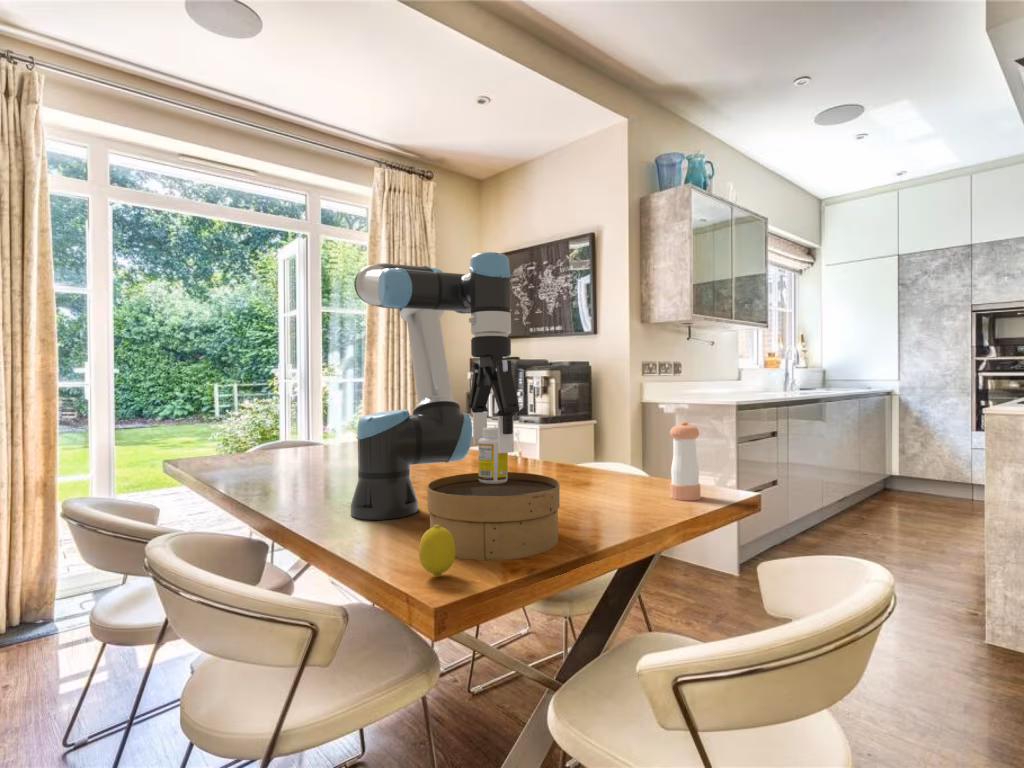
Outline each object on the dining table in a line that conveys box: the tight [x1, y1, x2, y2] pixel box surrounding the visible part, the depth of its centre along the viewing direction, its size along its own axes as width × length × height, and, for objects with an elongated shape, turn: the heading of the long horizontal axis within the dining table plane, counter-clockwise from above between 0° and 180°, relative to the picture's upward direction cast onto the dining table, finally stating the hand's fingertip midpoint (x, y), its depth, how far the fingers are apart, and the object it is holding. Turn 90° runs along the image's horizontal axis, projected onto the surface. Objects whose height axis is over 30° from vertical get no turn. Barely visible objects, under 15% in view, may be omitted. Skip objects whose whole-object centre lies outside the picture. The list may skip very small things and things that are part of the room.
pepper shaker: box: [669, 421, 701, 501], centre depth 137 cm, size 7×7×19 cm
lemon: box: [418, 525, 456, 578], centre depth 83 cm, size 6×6×8 cm
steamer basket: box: [426, 471, 561, 561], centre depth 103 cm, size 25×25×11 cm
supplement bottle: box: [477, 427, 509, 484], centre depth 103 cm, size 6×6×10 cm
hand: (492, 448), depth 103 cm, fingers open, 13 cm apart
